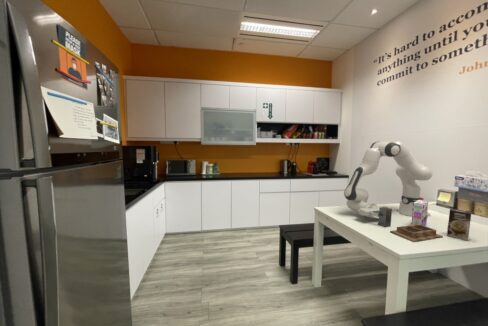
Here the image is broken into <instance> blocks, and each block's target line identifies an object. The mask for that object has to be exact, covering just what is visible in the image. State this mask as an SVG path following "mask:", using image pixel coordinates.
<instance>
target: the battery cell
mask: <svg viewBox="0 0 488 326" xmlns="http://www.w3.org/2000/svg"><path fill="white" fill-rule="evenodd" d="M392 213H393V209H392V208H391V207H388V206H381V207H379V216H378V223H377V225H379V226H381V227H383V228H389V227H390V228H391V227H392Z"/></svg>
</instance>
